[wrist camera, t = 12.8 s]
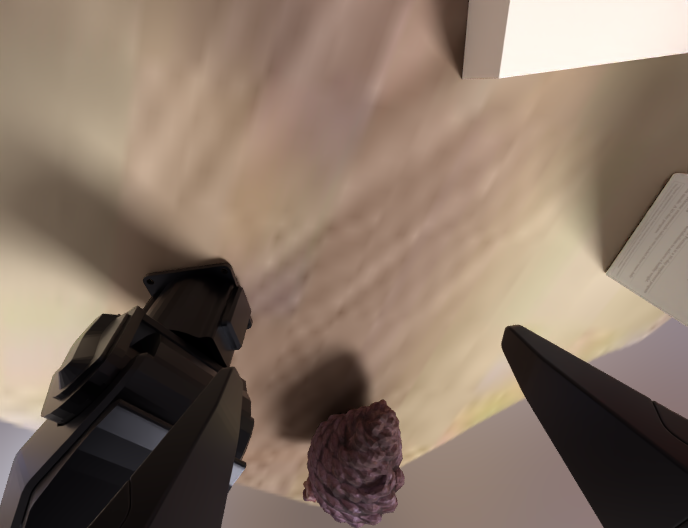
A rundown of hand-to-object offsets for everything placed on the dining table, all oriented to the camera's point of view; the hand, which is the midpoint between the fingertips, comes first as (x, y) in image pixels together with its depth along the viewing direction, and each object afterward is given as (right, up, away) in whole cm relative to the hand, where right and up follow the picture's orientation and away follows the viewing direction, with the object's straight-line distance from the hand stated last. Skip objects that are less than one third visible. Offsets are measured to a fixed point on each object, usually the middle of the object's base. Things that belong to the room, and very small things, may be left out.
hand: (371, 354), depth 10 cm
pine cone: (0, -15, +25) cm, 29 cm away
